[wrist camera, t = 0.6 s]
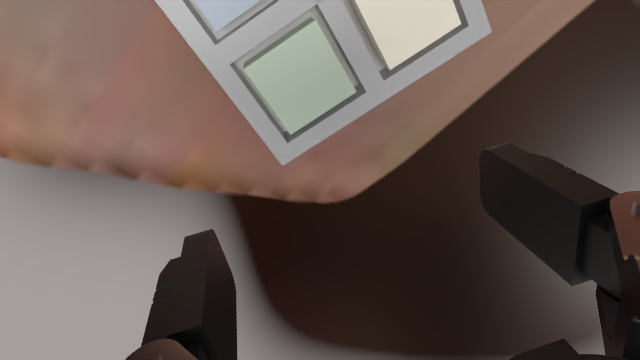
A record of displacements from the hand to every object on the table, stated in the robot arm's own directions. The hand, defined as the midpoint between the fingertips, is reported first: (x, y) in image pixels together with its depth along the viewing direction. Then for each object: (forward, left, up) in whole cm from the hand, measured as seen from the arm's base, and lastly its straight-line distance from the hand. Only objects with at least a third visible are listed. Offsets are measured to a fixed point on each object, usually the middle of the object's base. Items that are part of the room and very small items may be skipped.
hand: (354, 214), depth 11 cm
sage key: (0, 0, -16) cm, 16 cm away
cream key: (-8, 0, -16) cm, 18 cm away
